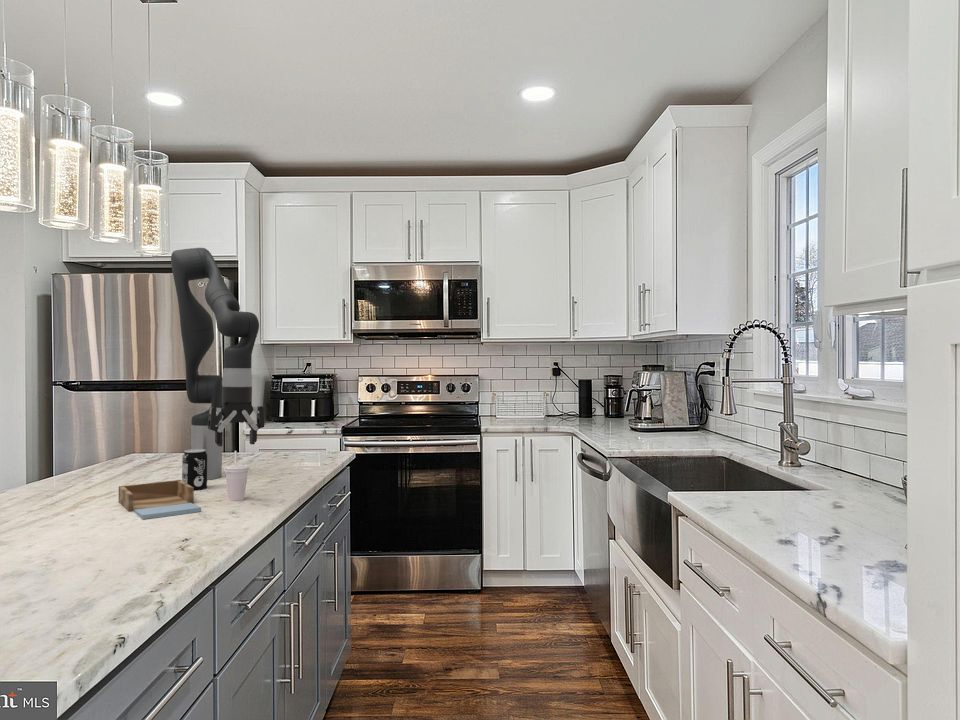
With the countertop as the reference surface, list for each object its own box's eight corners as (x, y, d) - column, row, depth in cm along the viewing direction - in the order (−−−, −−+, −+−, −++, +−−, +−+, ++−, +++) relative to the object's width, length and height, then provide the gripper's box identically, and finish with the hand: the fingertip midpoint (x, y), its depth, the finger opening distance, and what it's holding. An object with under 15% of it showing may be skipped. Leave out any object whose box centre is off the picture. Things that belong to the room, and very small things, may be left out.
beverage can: (211, 489, 184) (211, 449, 184) (199, 494, 178) (199, 452, 178) (190, 488, 185) (190, 448, 185) (177, 493, 178) (177, 451, 178)
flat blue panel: (133, 509, 154) (142, 514, 146) (189, 501, 162) (201, 507, 154) (133, 514, 154) (142, 520, 146) (189, 507, 162) (201, 512, 154)
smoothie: (218, 503, 167) (219, 451, 167) (237, 498, 173) (238, 448, 173) (235, 506, 164) (235, 453, 164) (254, 501, 170) (254, 450, 170)
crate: (118, 505, 163) (118, 486, 163) (180, 497, 173) (180, 479, 173) (128, 515, 153) (128, 494, 153) (193, 506, 163) (193, 487, 163)
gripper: (214, 385, 161) (212, 448, 161) (268, 385, 170) (267, 444, 170) (205, 384, 167) (204, 445, 167) (258, 384, 176) (257, 442, 176)
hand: (236, 445), depth 168 cm, fingers open, 8 cm apart
